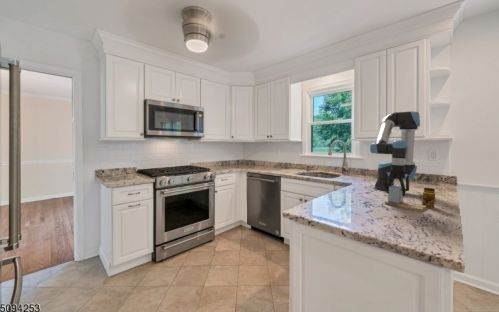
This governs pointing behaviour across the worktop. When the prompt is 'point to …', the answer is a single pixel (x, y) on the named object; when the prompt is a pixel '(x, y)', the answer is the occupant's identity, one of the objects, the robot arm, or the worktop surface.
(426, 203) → the condiment
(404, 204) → the board
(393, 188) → the block
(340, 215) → the worktop surface
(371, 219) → the worktop surface
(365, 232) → the worktop surface
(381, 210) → the worktop surface
